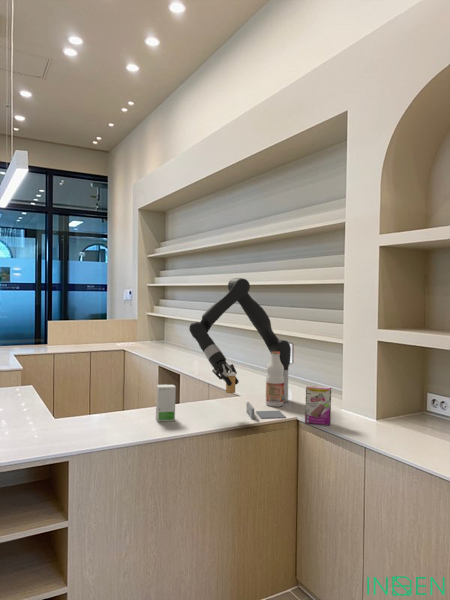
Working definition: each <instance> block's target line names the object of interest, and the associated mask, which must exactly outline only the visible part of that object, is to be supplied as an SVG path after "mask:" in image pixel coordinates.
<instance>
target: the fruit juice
mask: <svg viewBox="0 0 450 600" xmlns="http://www.w3.org/2000/svg"><path fill="white" fill-rule="evenodd" d="M270 355H271V356H270V360H269V362H268V363H267V365H266V379H265V405H266V406H268V407H272V408H273V407H274V408H275V407H277V408H279V407H283V406H284V403H285V402H284V376H283V372H284V366H283V365H282V363H281V361H280V357H279V355H280V352H279V351H271V352H270Z"/></svg>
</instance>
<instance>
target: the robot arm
mask: <svg viewBox="0 0 450 600" xmlns="http://www.w3.org/2000/svg"><path fill="white" fill-rule="evenodd" d="M250 288H251V285H250V282H249V280H248V279H246V278H242V277H233V278H231V279H230V280H229V281H228V283H227V290H228V292H227V293H226V294H225V295H224V296H223V297H222V298H220V299H219V300H218V301H216V302H215V303H213V304H212V305H211V306H210V307H209V308H208V309H207V310H206V311H205V312H204V313H203V314H202V316H201V320H200V321H193V322H191V323H190V325H189V332H190V334H191V335H192V338H194V339H195V341H196V342H197V343H198V346H199V348H200V349H201V350H202V352H203V354H204V356H205V358H206V359H207V361H208V362H209V364H210V365H211V367H212V368H213V369H212V370H211V371H212V373H213V374H214V375H215V376H216V377H217V378H218V379H219V380H223V381H224V382H225V384H226V383H227V385H228V386H231V384H232V382H231V381H230V379H229V378H228V377H227V375H226V373H227V372H234V373H236V376H235V386H236V385H238V384H239V379H238V378H237V374H238V372H237V370H236V367H235V366H234V364H229V363H228V362H227V357H226V356H225V355H224V353H223V352H222V351H221V349H220V348H219V347H218V346H217V345H216V343H215V341H214V340H213V339H212V338H211V336H210V335H209V331H210V329H211V328H212V326H213V325H214V324H215V323H216V321H218V320H219V319H220V318H221V317H222V315H223V314H225V313H226V311H228V310H229V309H230V308H231V307H232V306H233V305H234V304H235V303H238V304H239V305H240V306H241V309H242V310H243V311H244V313H245V315H246V316H247V318H248V319H249V321H250V322H251V324H252V325H253V327H254V328H255V329H256V331H257V333H258V334H259V335H260V337H261V339H263V342H264V343H265V345H266V347H267V349H268V350H269V353H271V351H279V352H280V355H279V357H280V361H281V363H282V365H283V366H284V372H283V376H284V403H287V402H288V401H289V367H290V364H291V353H292V352H291V351H292V349H291V345H290V342H288V341H287V340H284V339H280V338H278V336H277V335H276V333H274V331H273V328H272V324H271V323H272V322H271V319H270V317H269V315H268V314H267V312H266V311H265V309H264V308H263V307H262V306H261V305H260V304H259V303H258V302H257V301H256V300H254V299H253V298H252V297H251V295H250V294H249V291H250Z"/></svg>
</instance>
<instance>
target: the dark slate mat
mask: <svg viewBox="0 0 450 600" xmlns="http://www.w3.org/2000/svg"><path fill="white" fill-rule="evenodd" d="M255 413H256V414H257V415H258V417H259V418H260V419H262V420H263V419H286V418H287V417H286V415H285V414H284V413H282V412H281V411H280V410H255Z"/></svg>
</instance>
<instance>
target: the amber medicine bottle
mask: <svg viewBox="0 0 450 600" xmlns="http://www.w3.org/2000/svg"><path fill="white" fill-rule="evenodd" d="M226 375H227V377H228V378H229V379H230V381H231V382H232V384H231V386H228V385H227V383H226V382H225V393H226V394H235V393H236V385H235V376H236V377H237V374H236V373H234V372H229V371H228V372H227V373H226Z"/></svg>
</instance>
